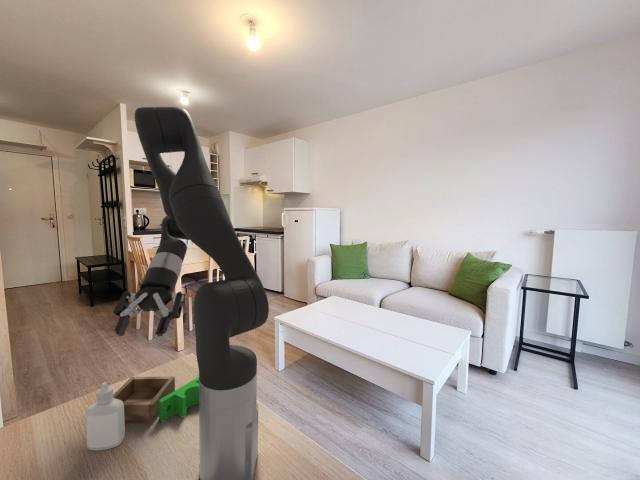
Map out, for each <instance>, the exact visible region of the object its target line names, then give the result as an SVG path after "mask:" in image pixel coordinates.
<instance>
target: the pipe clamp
mask: <svg viewBox="0 0 640 480" xmlns="http://www.w3.org/2000/svg"><path fill="white" fill-rule="evenodd" d="M194 405H199V376H197V377H196V378H194V379H192V380H190V381H189V382H187V383H185V384H184V385H182V386H181V387H179V388H177V389H175V391H174V392H172V393H170V394H169V395H167V396H165V397H164V398H162V399H160V400H159V416H158V420H159V421H160V422H164V421H165V420H167V419H168V418H170V417H171V416H173V415H174V414H177V415H178V416H180V417H182V418H184V417H185V416H187V409H188V408H189V407H190V406H194Z"/></svg>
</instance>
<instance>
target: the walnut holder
mask: <svg viewBox="0 0 640 480" xmlns="http://www.w3.org/2000/svg"><path fill="white" fill-rule="evenodd" d="M175 390H176V378H175V376H174V375H173V376H131V377H130V378H129V379H128V380H127V381H126V382H125V383H124V384H122V386H120V387H119V389H118V390H116V391H115V393H113V398H115V399H119V400H121V401H122V402H123V403H124V419H125V424H154V422H155V421H156V420H157V419H158V418H159V400H160V399H162V398H164V397H165V396H167V395H169V394H170V393H172V392H174V391H175Z"/></svg>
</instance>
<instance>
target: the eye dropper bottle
mask: <svg viewBox="0 0 640 480" xmlns="http://www.w3.org/2000/svg"><path fill="white" fill-rule="evenodd" d="M108 385H109V384H108V383H107V381H105V382H102V383H101V388H99V389H98V390H97V391H96V392H95V394H96V395H95V396H96V401H95V402H93V403H92V404H90V405H89V407H88V408H87V409H86V411H85V432H86V448H87V449H88V451H89V450H90V451H97V452H98V451H106V450H109V449H113V448H116V447H118V446H119V445H121V444H122V442H123V441H124V439H125V437H126V428H125V427H126V425H125V424H126V423H125V419H124V403H123V402H122V401H121V400H119V399H115V398H113V395H114V388H113V387H112V386H108Z"/></svg>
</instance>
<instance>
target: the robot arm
mask: <svg viewBox="0 0 640 480" xmlns="http://www.w3.org/2000/svg"><path fill="white" fill-rule="evenodd" d="M134 123H135V128H136V132H137V136H138V139H139V142H140V145H141V148H142V150H143V154H144V156H145V158H146V161H147V163H148V166H149V168H150V172H151V174H152V176H153V177H154V180H155V183H156V185H157V188H158V191H159V195H160V199H161V203H162V207H163V211H164V213H165V215H166V216H164V217H163V218H162V220H161V227H160V229H161V230H160V231H161V232H160V233H161V234H160V241H159V245H158V247H157V249H156V252H155V254H154V256H153V257H152V259H151V261H150V263H149V264H148V267H147V269H146V272H145V274H144V276H143V279H142V281H141V283H140V287H139V288H140V289H139V290H138V291H137V292H135V293H134V292H130V291H128V290H125V291H124V292H123V293H122V294H121V296H120V299H119V300H118V302H117V303H116V306H115V308H114V309H113V311H112V313H113V314H114V315H115V316H116V317H117V318H118V322H117V323H116V326H115V328H114V332H115V334H116V335H117V336H118V337H124V335H125V333H126V330H127V329H128V326H129V323H130V320H131V319H132V318H134V317H135V316H137V315H139V314H141V313H142V312H158V311H160V312H161V315H162V317H160V320H159V323H158V325H157V329H156V331H155V334H156V336H158V337H163V336H164V335H165V334H166V333H167V331H168V327H169V325H170V322H171V320H174V319H180V317H181V315H182V311H183V307H184V303H185V298H186V297H185V295H184V293H182V291H177V292H176V293H174V291H175V289H176V286H177V284H178V279H179V278H180V275H181V271H182V267H183V262H184V259H185V257H186V254H187V251H188V247H187V245H188V244H186V243H185V242H184V241H183V240H186V241H191V242H192V243H193V244H194V245H196V246H197V247H198V248H199V249H200V250H202V251H203V252H204V253H205V254H207V256H209V257H210V258H211V259H212V260H213V261H214V262H215V263H216V265H217V266H218V267H219V269H220V271H221V272H222V275H223V277H224V278H225V279H222V280H216V281H209V282H206V283H203V284H201V285H200V286H199V287H198V288H197V290H196V292H195V295H194V302H193V319H194V331H195V334H194V335H195V350H196V351H195V355H196V362H197V367H198V377H199V404H198V409H199V410H198V419H199V421H198V425H199V426H198V427H199V428H198V432H199V433H198V434H199V436H198V439H199V440H198V443H199V446H198V447H199V464H198V465H199V467H198V468H199V480H254V475H255V470H256V463H257V457H258V453H259V452H258V451H259V404H257V387H258V386H257V383H258V382H257V380H258V378H257V377H258V375H257V374H258V359H257V355H256V353H255V352H254V351H253V350H252V349H251V348H249V347H245V346H243V345H237V344H236V345H235V344H230V338H232V337H236V336H238V335H241V334H244V333H246V332H251V331H252V330H256V329H257V328H260V327H262V326H263V325H265V324H266V322H267V321H268V319H269V314H270V313H269V312H270V309H269V308H270V305H269V299H268V295H267V293H266V290H265V287H264V285H263V282H262V281H261V279H260V277H259V275H258V274H257V271H256V270H255V268H254V266H253V264H252V262H251V260H250V258H249V256H248V255H247V253H246V251H245V249H244V248H243V246H242V243H241V241H240V240H239V237H238V234H237V232H236V230H235V229H234V225H233V223H232V221H231V217H230V216H229V213H228V211H227V207H226V205H225V203H224V200H223V197H222V195H221V193H220V190H219V188H218V186H217V183H216V182H215V180H214V178H213V176H212V172H211V171H210V168H209V166H208V163H207V161H206V158H205V155H204V152H203V148H202V145H201V142H200V139H199V137H198V134H197V133H198V132H197V130H196V128H195V125H194V121H193V120H192V117H191V115H190V113H189V112H188V110H186V109H184V108H183V107H179V106H142V107H138V108H136V109H135V111H134ZM179 152H181V153H182V152H184V155H183V159H182V162H181V165H180V167H179V169H177V172H175V171H174V170H173V169H171V168H170V166H169V165H167V163H166V162H165V160H164V159H163V157H162V155H161V154H167V153H169V154H170V153H179ZM171 301H173V306H172V310H171V311H170V310H169V309H168V306H167V305H168V304H169V303H170V302H171ZM137 306H138V307H137Z"/></svg>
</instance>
